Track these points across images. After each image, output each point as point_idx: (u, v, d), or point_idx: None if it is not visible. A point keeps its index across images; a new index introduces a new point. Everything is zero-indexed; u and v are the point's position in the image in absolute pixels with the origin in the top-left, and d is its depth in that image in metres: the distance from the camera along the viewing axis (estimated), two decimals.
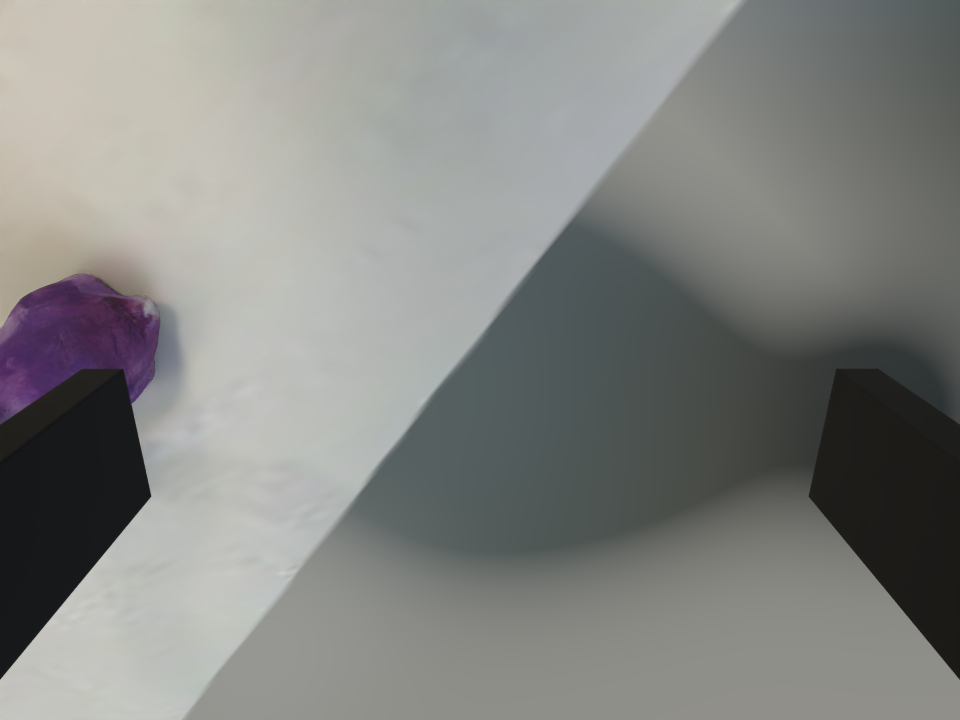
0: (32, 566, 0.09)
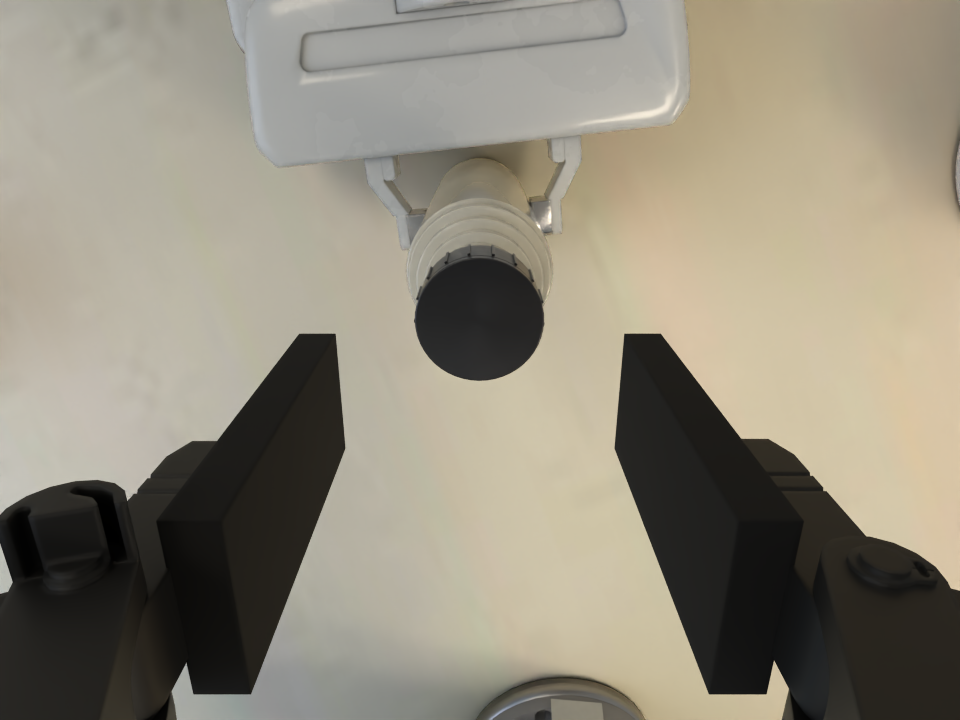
0: (304, 492, 0.11)
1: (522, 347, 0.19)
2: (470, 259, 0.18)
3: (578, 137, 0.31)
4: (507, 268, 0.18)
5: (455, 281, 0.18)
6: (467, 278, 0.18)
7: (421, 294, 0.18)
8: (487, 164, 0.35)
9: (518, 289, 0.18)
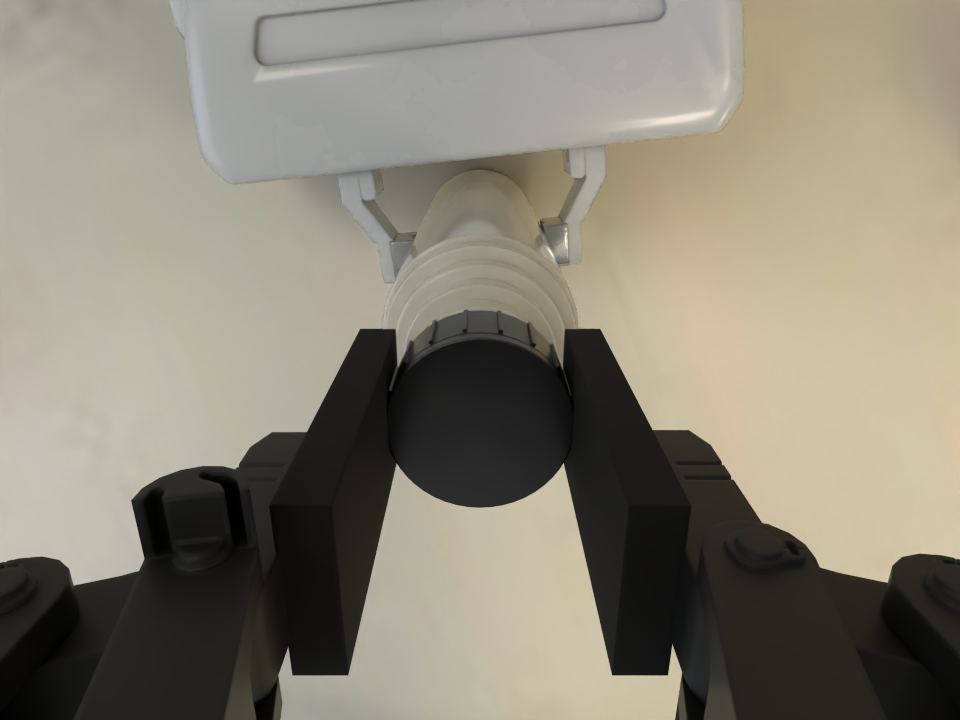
0: (378, 482, 0.12)
1: (542, 463, 0.13)
2: (466, 340, 0.12)
3: (602, 147, 0.25)
4: (521, 353, 0.12)
5: (444, 371, 0.12)
6: (462, 367, 0.12)
7: (394, 389, 0.12)
8: (489, 178, 0.29)
9: (538, 382, 0.12)
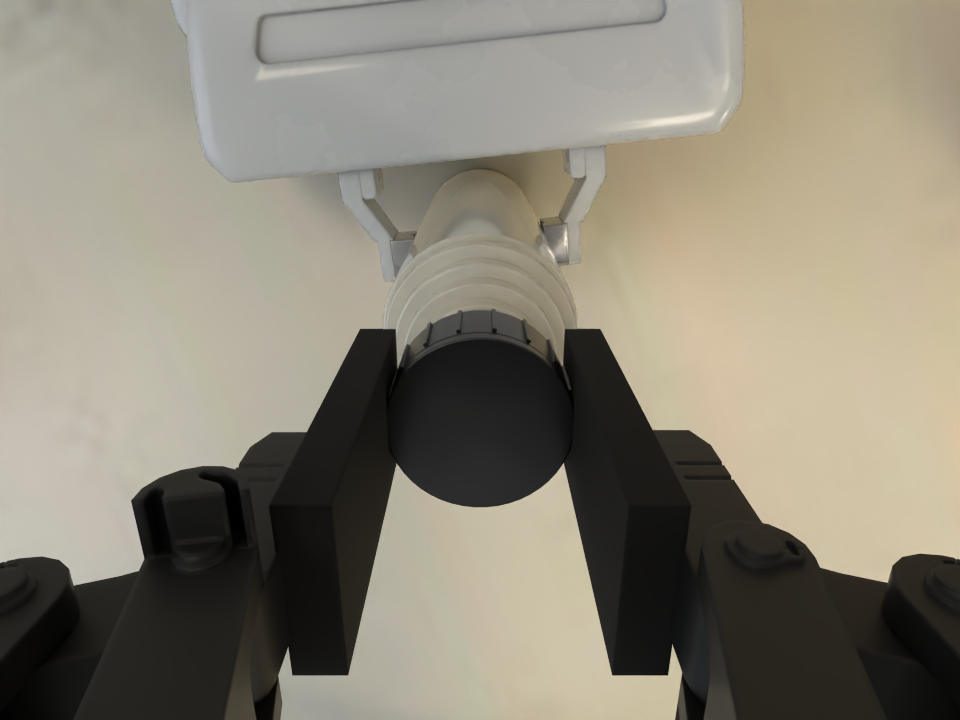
0: (378, 482, 0.12)
1: (497, 358, 0.12)
2: (398, 464, 0.13)
3: (602, 147, 0.25)
4: (391, 417, 0.13)
5: (435, 472, 0.13)
6: (425, 460, 0.13)
7: (470, 504, 0.13)
8: (489, 178, 0.29)
9: (413, 394, 0.12)
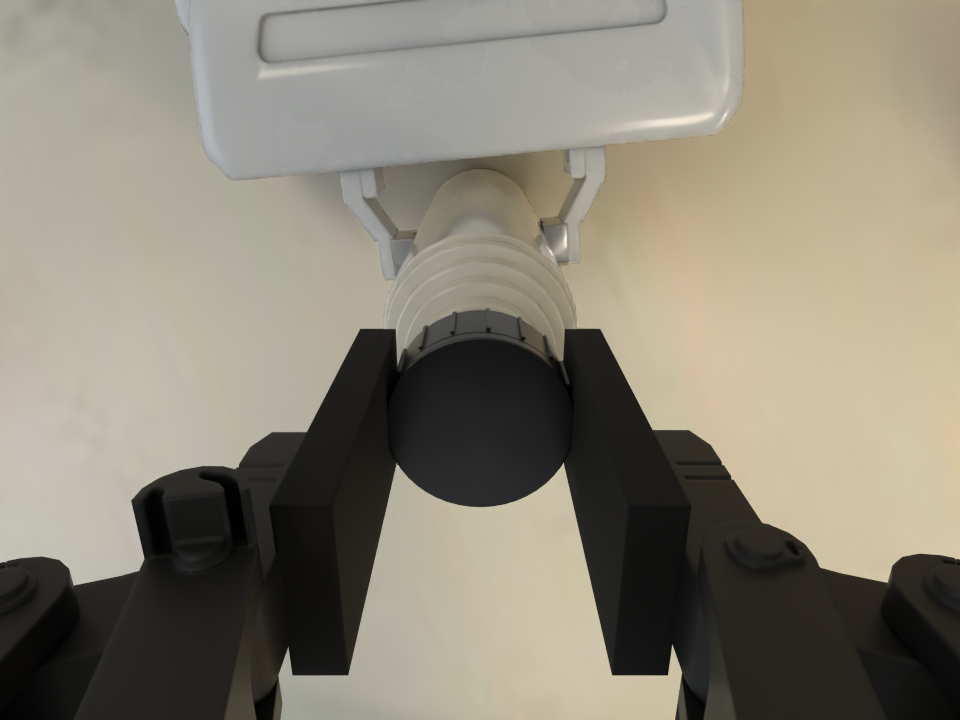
0: (378, 482, 0.12)
1: (405, 435, 0.13)
2: (546, 482, 0.13)
3: (602, 148, 0.25)
4: (498, 500, 0.13)
5: (544, 449, 0.13)
6: (533, 462, 0.13)
7: (571, 406, 0.13)
8: (489, 178, 0.29)
9: (467, 490, 0.13)
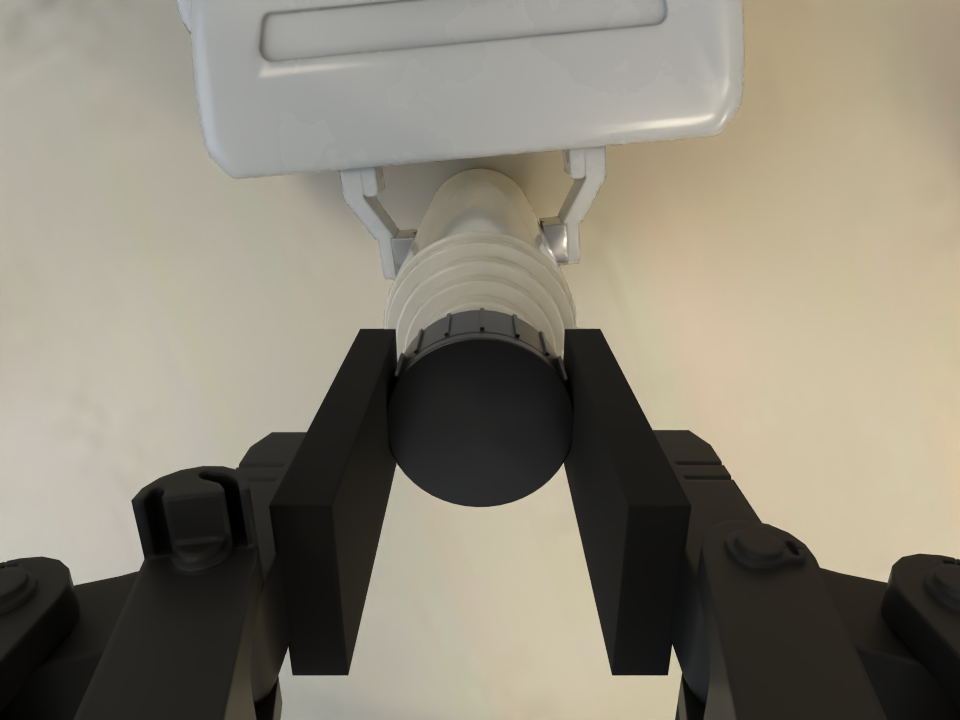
0: (378, 482, 0.12)
1: (512, 485, 0.13)
2: (519, 346, 0.12)
3: (602, 148, 0.25)
4: (557, 383, 0.12)
5: (482, 362, 0.12)
6: (500, 367, 0.12)
7: (427, 352, 0.12)
8: (490, 177, 0.29)
9: (554, 416, 0.13)
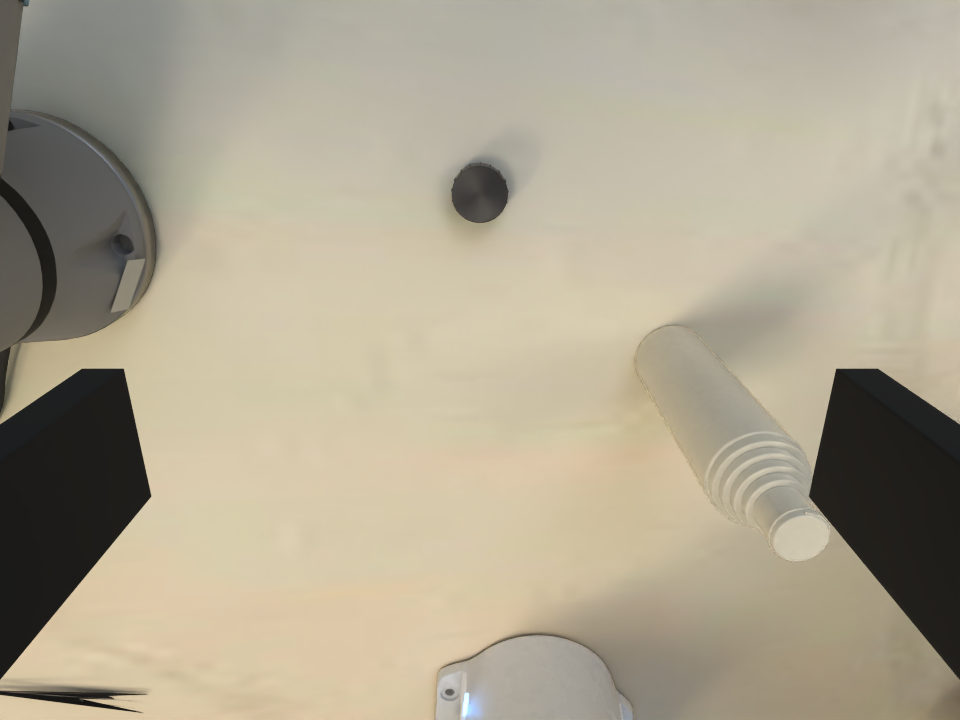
0: (32, 566, 0.09)
1: (489, 214, 0.44)
2: (491, 168, 0.43)
3: None
4: (502, 180, 0.43)
5: (480, 173, 0.43)
6: (485, 175, 0.43)
7: (464, 170, 0.43)
8: None
9: (501, 191, 0.43)
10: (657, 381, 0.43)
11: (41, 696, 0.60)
